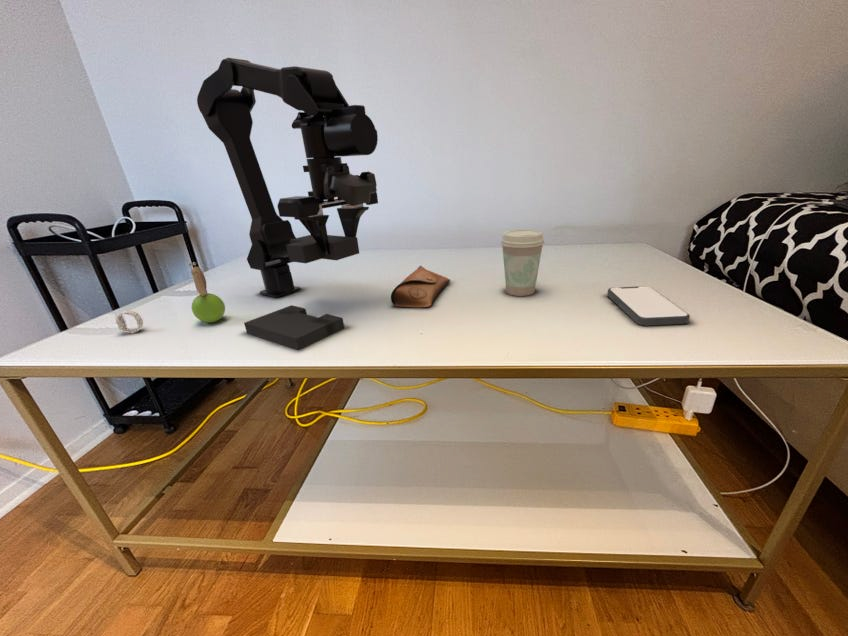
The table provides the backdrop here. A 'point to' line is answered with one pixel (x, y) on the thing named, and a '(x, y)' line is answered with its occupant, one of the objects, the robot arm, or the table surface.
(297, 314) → the notched pad
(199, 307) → the green ball with stick
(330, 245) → the pad
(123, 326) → the beige textured ring
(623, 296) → the phone case
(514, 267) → the coffee cup
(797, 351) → the table surface
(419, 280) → the sunglasses case
